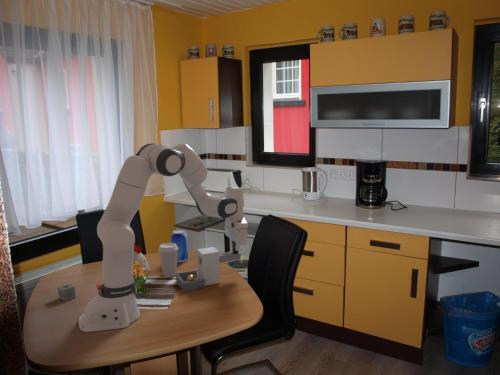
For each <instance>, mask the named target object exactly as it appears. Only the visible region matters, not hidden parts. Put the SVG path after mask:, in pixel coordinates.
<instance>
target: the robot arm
mask: <svg viewBox="0 0 500 375" xmlns="http://www.w3.org/2000/svg"><path fill="white" fill-rule="evenodd" d="M207 168H208V167H207V166H206V164H205V163H204V161H203V159H202V158H201V157H200V156H199V155H198V154H197V152H196V151H195V150H194V149H193V148H192V147H190V146H189V145H188V144H186V143H178V144H176V145H175V146H172V148H171V147H168V146H166V145H163V144H157V143H146V144H144V145H142V146H141V148H139V150H138V152H137V153H136V154H135V155H130V156H129V157H127V158H126V159H125V161H124V163H123V164H122V167H121V169H120V171H119V173H118V175H117V177H116V178H117V179H116V181H115V184H114V188H113V190H112V194H111V196H110V200H109V202H108V204H107V206H106V207H105V209H104V212H103V214H102V215H101V218H100V220H99V221H98V223H97V226H96V233H97V237H98V238H99V240H100V241H101V243H102V264H101V265H102V266H101V267H102V268H101V269H102V279H103V283H102V282H98V283H96V285H95V286H96V289H97V290H98V294H97V295H96V296H94V298H92V299H91V300H89V302H88V303H87V304H86V305H85V308H84V313H83V314H81V315H80V317H79V319H78V327H79V330H80V331H81V332H84V333H91V332H100V331H107V330H115V329H125V328H127V327H128V326H130V324H132V323H133V322H135V321H137V320H138V319H139V318H140V316H141V312H140V309H139V306H138V303H137V298H136V293H137V290H136V288H137V287H136V280H135V279H134V277H133V251H134V245H135V243H136V237H135V233H134V230H133V229H132V227H131V222H132V220H133V219H134V216H135V215H136V213H137V212H138V211H139V210H140V208H141V204H142V202H143V199H144V195H145V192H146V189H147V186H148V182H149V180H150V178H151V177H152V176H153V174H157V175H161V176H164V177H174V176H176V175H179V176H180V177H181V179H182V181H183V184H184V186H185V188H186V189H187V191H188V192H189V194H190V196H191V198H192V199H193V200H194V202H195V206H196V208H197V209H196V210H197V211H198V213H199V214H201V215H202V216H208V217H215V218H219V219H225V221H224V235H225V236H226V237H227V238H229V239H230V245H231V246H232V241H234V242H235V244H236V246H235V250H236V251H239V252H240V247H241V246H246V245H247V243H248V227H249V224H248V222H247V220H246V219H245V212H244V207H245V201H244V200H245V198H244V197H245V196H244V192H243V190H242V188H240V187H235V186H227V187H226V188H225V191H224V192H223V193H221V195H214V194H210V193H208V192H206V191H205V189H204V186H203V185H202V184H203V183H204V182H205V180H206V179H207V176H208V169H207Z"/></svg>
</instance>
